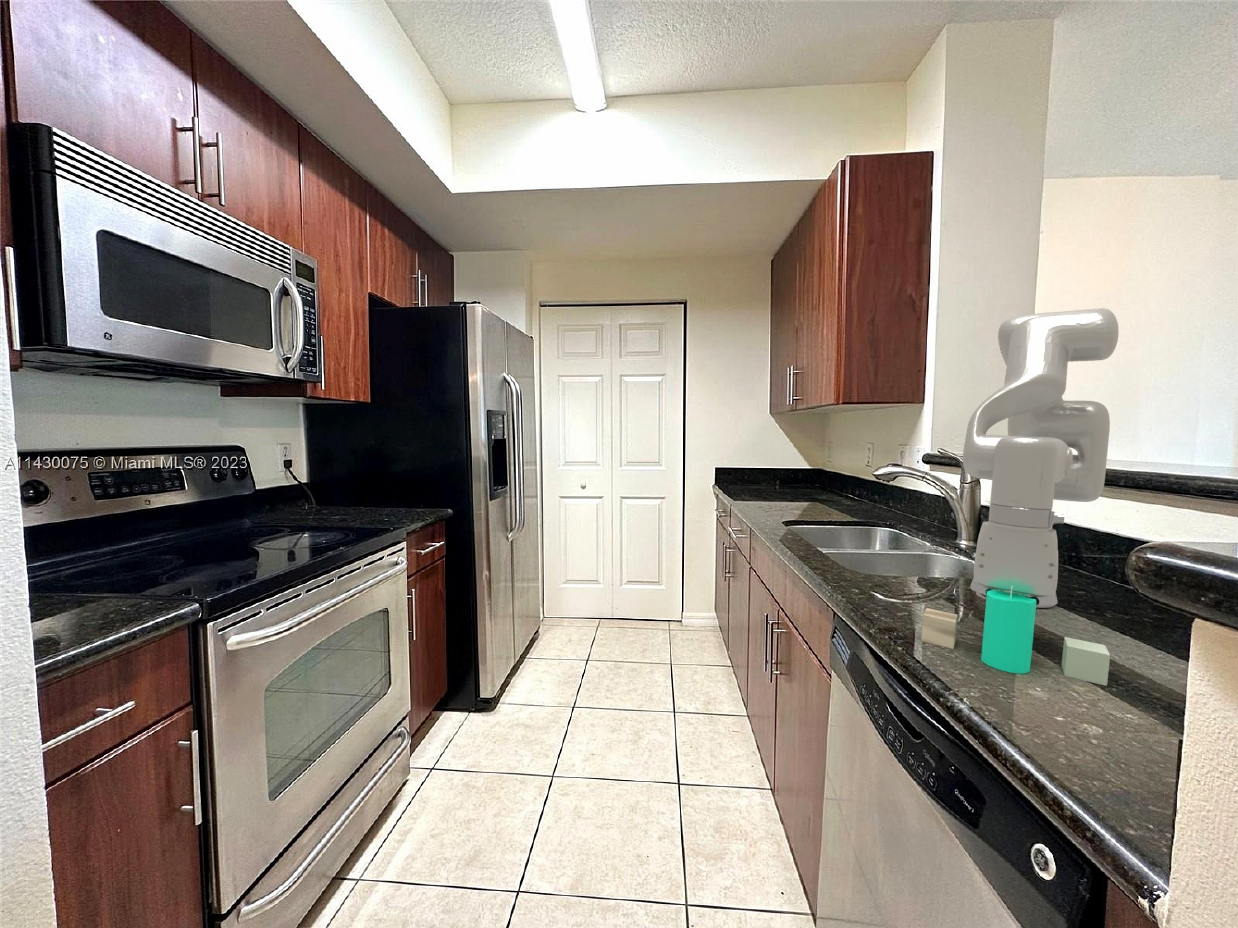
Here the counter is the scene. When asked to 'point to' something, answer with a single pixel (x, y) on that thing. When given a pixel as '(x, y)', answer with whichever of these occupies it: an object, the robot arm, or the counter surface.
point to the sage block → (1085, 661)
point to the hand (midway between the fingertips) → (1008, 634)
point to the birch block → (939, 628)
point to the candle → (1008, 631)
